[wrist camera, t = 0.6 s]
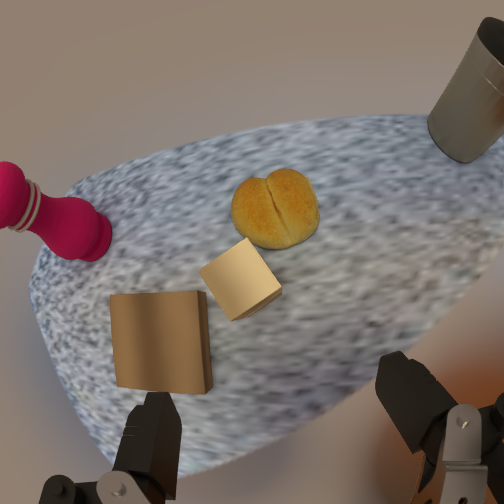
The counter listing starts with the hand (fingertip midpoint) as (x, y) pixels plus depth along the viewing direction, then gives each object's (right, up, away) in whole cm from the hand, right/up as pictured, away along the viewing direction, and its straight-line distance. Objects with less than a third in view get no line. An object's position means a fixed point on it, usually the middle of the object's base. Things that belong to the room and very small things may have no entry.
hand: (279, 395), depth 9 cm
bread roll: (+2, +9, +21) cm, 23 cm away
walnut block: (-10, -4, +19) cm, 22 cm away
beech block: (-1, +1, +19) cm, 19 cm away
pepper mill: (-21, +7, +22) cm, 32 cm away
